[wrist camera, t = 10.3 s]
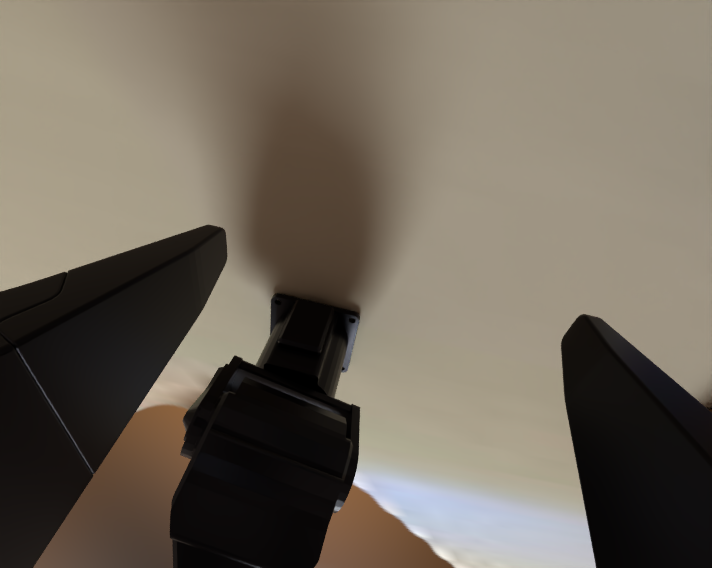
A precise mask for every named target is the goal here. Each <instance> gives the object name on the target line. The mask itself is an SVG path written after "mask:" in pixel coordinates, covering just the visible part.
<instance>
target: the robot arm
mask: <svg viewBox="0 0 712 568" xmlns="http://www.w3.org/2000/svg"><path fill="white" fill-rule="evenodd" d="M226 261H227V243H226V232H225V230H224V229H223V228H221V227H217V226H213V225H205V226H202V227H199V228H196V229H193V230H190V231H187V232H184V233H181V234H178V235H175V236H172V237H169V238H166V239H163V240H160V241H157V242H154V243H151V244H148V245H144V246H141V247H138V248H135V249H132V250H129V251H126V252H123V253H120V254H117V255H114V256H111V257H108V258H105V259H102V260H99V261H96V262H93V263H90V264H87V265H84V266H81V267H78V268H75V269H72V270H69V271H68V273H67V272H62V273H59V274H56V275H53V276H50V277H47V278H44V279H41V280H38V281H35V282H32V283H28V284H25V285H22V286H19V287H15V288H12V289H8V290H5V291H1V292H0V568H33V567H34V565H35V564H36V562H37V560H38V559H39V558H40V556H41V555H42V553H43V551H44V550H45V548H46V547H47V545H48V544H49V542H50V541H51V539H52V538H53V536H54V535H55V533H56V532H57V530H58V529H59V527H60V526H61V524H62V523H63V521H64V520H65V518H66V516H67V515H68V514H69V512H70V511H71V509H72V508H73V506H74V505H75V503H76V502H77V500H78V498H79V497H80V495H81V494H82V492H83V491H84V489H85V488H86V486H87V485H88V483H89V482H90V480H91V479H92V477H93V474H94V473H95V472H96V471H97V469H98V468H99V466H100V464H101V463H102V462H103V460H104V459H105V457H106V456H107V454H108V453H109V451H110V450H111V448H112V447H113V445H114V443H115V442H116V440H117V439H118V437H119V436H120V434H121V433H122V431H123V430H124V428H125V427H126V425H127V424H128V422H129V421H130V419H131V418H132V416H133V415H134V413H135V412H136V410H137V409H138V407H139V406H140V404H141V403H142V401H143V400H144V398H145V397H146V395H147V394H148V392H149V391H150V389H151V387H152V386H153V384H154V383H155V381H156V380H157V378H158V377H159V375H160V374H161V372H162V371H163V369H164V368H165V366H166V365H167V363H168V362H169V360H170V359H171V357H172V356H173V354H174V353H175V351H176V350H177V348H178V347H179V345H180V344H181V342H182V341H183V339H184V338H185V336H186V334H187V333H188V331H189V330H190V328H191V327H192V325H193V324H194V322H195V321H196V319H197V318H198V316H199V315H200V313H201V311H202V310H203V308H204V306H205V304H206V302H207V300H208V298H209V296H210V294H211V292H212V290H213V288H214V286H215V284H216V282H217V280H218V278H219V276H220V274H221V272H222V270H223V268H224V266H225V264H226ZM278 300H280V301H278ZM351 318H354V319H351ZM359 320H360V316H359V314H358V313H356V312H353V311H349V310H345V309H341V308H337V307H333V306H328V305H324V304H320V303H316V302H312V301H308V300H304V299H300V298H296V297H292V296H288V295H283V294H278V293H277V294H275V295H274V296H273V298H272V300H271V328H270V337H269V339H268V341H267V344H266V346H265V348H264V350H263V352H262V354H261V356H260V358H259V360H258V362H257V364H256V365H253V364H251V363H248V362H246V361H243V360H242V358H240V357H238V356H234V357H233V359H232V360H231V362H230V363H229V365H228V364H226V365H225V366H224V367H220V368H218V370H217V372H216V373H215V375H214V377H213V378H212V380H211V382H210V383H209V385H208V387H207V388H206V389H205V391H204V392H203V393H202V394H201V396H200V397H199V398H198V399H197V400H196V401H195V403H194V404H193V405H192V406H191V407H190V408H189V410H188V411H187V412H186V414H185V416H184V418H183V423H184V426H185V430H186V434H185V437H184V441H185V442H184V445H183V447H182V450H181V454H180V455H182V456H184V457H187V458H189V459H191V461H190V463H189V465H188V467H187V469H186V471H185V473H184V475H183V477H182V479H181V481H180V483H179V485H178V488H177V489H176V491H175V494H174V496H173V499H172V508H171V516H170V538H171V539H173V568H314V567H315V566H316V564H317V563H318V560H319V557H320V554H321V550H322V546H323V542H324V539H325V535H326V532H327V528H328V524H329V522H330V519H331V516H332V513H336V512H338V511H339V510H340V509H341V507H342V506H343V504H344V502H345V500H346V498H347V496H348V494H349V491H350V489H351V486H352V483H353V480H354V477H355V473H356V469H357V463H358V455H359V422H360V407H358V406H356V405H353V404H352V405H350V404H347V403H345V402H342V401H340V400H338V399H335V398H334V397H335V393H336V389H337V386H338V382H339V378H340V374H341V372H346V371H347V370H348V366H349V362H350V358H351V354H352V349H353V345H354V341H355V337H356V333H357V328H358V324H359ZM561 352H562V368H563V383H564V396H565V403H566V410H567V415H568V420H569V425H570V431H571V436H572V441H573V447H574V452H575V457H576V463H577V468H578V473H579V479H580V484H581V489H582V494H583V500H584V505H585V510H586V516H587V521H588V526H589V532H590V537H591V542H592V548H593V553H594V558H595V563H596V568H712V412H710V411H709V410H708V409H707V408H706V407H705V406H703V405H702V404H701V403H700V402H699V401H698V400H696V399H695V398H694V397H693V396H692V395H690V394H689V393H688V392H687V391H686V390H685V389H683V388H682V387H681V386H680V385H679V384H677V383H676V382H675V381H674V380H673V379H672V378H670V377H669V376H668V375H667V374H666V373H665V372H663V371H662V370H661V369H660V368H659V367H657V366H656V365H655V364H654V363H653V362H652V361H650V360H649V359H648V358H647V357H646V356H644V355H643V354H642V353H641V352H640V351H639V350H637V349H636V348H635V347H634V346H633V345H632V344H630V343H629V342H628V341H627V340H626V339H624V338H623V337H622V336H621V335H620V334H619V333H617V332H616V331H615V330H614V329H613V328H612V327H610V326H609V325H608V324H607V323H606V322H604V321H603V320H602V319H601V318H598V317H594V316H590V315H586V314H583V315H580V316H579V317H578V318H577V319H576V320H575V321H574V323H573V324H572V326H571V327H570V328H569V330H568V331H567V332H566V334H565V335H564V337H563V339H562V342H561Z"/></svg>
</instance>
